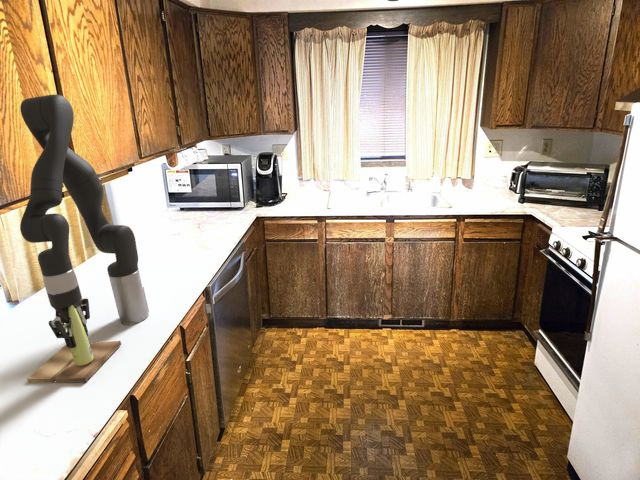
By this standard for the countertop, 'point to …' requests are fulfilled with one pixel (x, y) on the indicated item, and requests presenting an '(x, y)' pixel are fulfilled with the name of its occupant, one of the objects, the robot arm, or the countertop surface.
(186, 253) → the countertop surface
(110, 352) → the plank
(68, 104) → the robot arm
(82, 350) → the tube
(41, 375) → the oak board
